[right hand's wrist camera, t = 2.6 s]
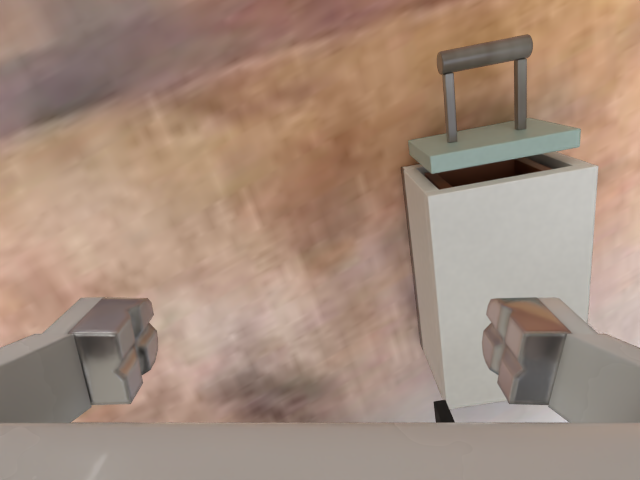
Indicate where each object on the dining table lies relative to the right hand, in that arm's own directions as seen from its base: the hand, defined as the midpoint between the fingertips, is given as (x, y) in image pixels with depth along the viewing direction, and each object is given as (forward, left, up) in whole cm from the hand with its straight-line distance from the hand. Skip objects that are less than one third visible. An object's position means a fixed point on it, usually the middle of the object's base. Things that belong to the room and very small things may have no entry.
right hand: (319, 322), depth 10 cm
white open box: (+13, +11, -26) cm, 31 cm away
